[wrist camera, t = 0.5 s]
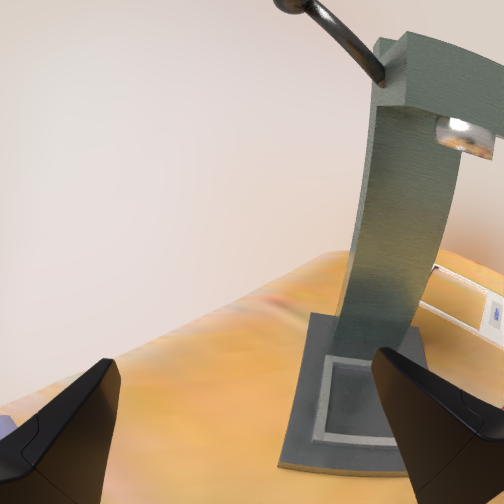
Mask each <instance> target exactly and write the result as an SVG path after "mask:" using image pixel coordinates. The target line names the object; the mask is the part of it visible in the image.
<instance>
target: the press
mask: <svg viewBox="0 0 504 504" xmlns="http://www.w3.org/2000/svg"><path fill="white" fill-rule="evenodd" d="M273 2H274V4H275V5H276V7H277V8H278V9H280V10H281V11H283V12H285V13H288V14H301V13H304V12H305V13H307V14H308V15H309V16H310V17H311V18H312V19H313V20H314V21H316V22H317V23H318V24H319V25H320V26H321V27H322V28H323V29H324V30H325V31H326V32H327V33H329V34H330V35H331V36H332V37H333V38H334V39H335V40H336V41H337V42H338V43H339V44H340V45H341V46H342V47H343V48H344V49H345V50H346V51H347V52H348V53H349V55H350V56H351V57H352V58H353V59H354V60H355V61H356V62H357V63H358V64H359V65H360V66H361V68H362V69H364V70H365V72H366V73H367V74H368V75H369V76H370V78H371V79H372V92H371V107H370V119H369V129H368V139H367V148H366V157H365V164H364V172H363V179H362V186H361V193H360V199H359V205H358V211H357V217H356V223H355V228H354V234H353V239H352V244H351V249H350V253H349V258H348V263H347V268H346V272H345V277H344V281H343V285H342V289H341V294H340V298H339V302H338V306H337V310H336V314H335V316H331V315H325V314H318V313H312V312H311V314H310V319H309V325H308V331H307V336H306V342H305V347H304V352H303V357H302V363H301V368H300V372H299V377H298V382H297V387H296V391H295V396H294V401H293V405H292V409H291V414H290V418H289V422H288V426H287V430H286V434H285V438H284V442H283V446H282V450H281V454H280V458H279V462H278V465H277V467H281V468H286V469H292V470H299V471H306V472H313V473H322V474H332V475H344V476H362V477H405V476H408V473H407V470H406V467H405V465H404V462H403V459H402V457H401V454H400V451H399V449H398V446H397V443H396V441H395V438H394V436H393V433H392V431H391V428H390V425H389V423H388V420H387V418H386V415H385V413H384V411H383V408H382V405H381V402H380V399H379V396H378V392H377V389H376V385H375V382H374V378H373V375H372V372H371V363H372V361H373V358H374V355H375V352H376V350H377V348H380V347H390V348H391V349H393V350H395V351H396V352H398V353H400V354H402V355H403V356H405V357H407V358H408V359H410V360H412V361H414V362H415V363H417V364H419V365H420V366H422V367H424V368H425V369H427V364H426V359H425V354H424V349H423V345H422V340H421V336H420V332H419V328H418V327H413V326H410V323H411V321H412V319H413V316H414V314H415V312H416V309H417V307H418V305H419V302H420V300H421V297H422V295H423V292H424V289H425V287H426V284H427V282H428V279H429V276H430V273H431V270H432V268H433V265H434V262H435V259H436V256H437V253H438V250H439V246H440V243H441V240H442V237H443V233H444V229H445V225H446V222H447V218H448V215H449V211H450V207H451V203H452V199H453V195H454V190H455V185H456V180H457V176H458V170H459V165H460V159H461V153H462V151H463V152H466V153H470V154H473V155H475V156H478V157H482V158H485V159H488V160H492V157H493V151H494V144H495V137H499V138H502V139H504V66H503V65H501V64H498V63H496V62H494V61H492V60H490V59H488V58H485V57H483V56H481V55H478V54H476V53H474V52H471V51H468V50H466V49H463V48H461V47H458V46H455V45H452V44H449V43H447V42H444V41H440V40H437V39H434V38H430V37H427V36H424V35H420V34H416V33H413V32H409V31H407V32H406V33H405V34H404V35H403V36H402V37H401V38H400V39H399V40H398V41H396V40H391V39H386V38H382V37H379V39H378V40H377V42H376V43H375V45H374V47H373V53H372V52H371V51H370V50H369V49H368V48H367V47H366V46H365V45H364V43H363V42H362V41H360V39H359V38H358V37H357V36H356V35H355V34H354V33H353V32H352V31H351V30H350V29H349V28H348V27H347V26H346V25H345V24H343V23H342V22H341V21H340V20H339V19H338V18H337V17H336V16H335V15H334V14H333V13H331V12H330V11H329V10H328V9H327V8H326V7H325V6H324V5H322V4H321V3H320V2H319V1H318V0H273ZM427 370H428V369H427Z"/></svg>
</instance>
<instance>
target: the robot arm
mask: <svg viewBox="0 0 504 504" xmlns="http://www.w3.org/2000/svg"><path fill="white" fill-rule="evenodd" d="M371 372H372V375H373V378H374V382H375V385H376V389H377V392H378V396H379V399H380V402H381V405H382V408H383V411H384V413H385V415H386V418H387V420H388V423H389V425H390V428H391V431H392V433H393V436H394V438H395V441H396V443H397V446H398V449H399V451H400V454H401V457H402V459H403V462H404V465H405V467H406V470H407V473H408V476H409V479H410V481H411V484H412V487H413V490H414V493H415V497H416V499H417V502H418V504H504V410H502V409H500V408H497V407H495V406H493V405H491V404H488V403H486V402H484V401H482V400H480V399H478V398H476V397H474V396H472V395H471V394H469V393H467V392H465V391H463V390H462V389H459V388H458V387H456V386H455V385H453V384H451V383H450V382H448V381H446V380H444V379H443V378H441V377H439V376H437V375H436V374H434V373H432V372H431V371H429V370H427V369H425V368H424V367H422V366H420V365H419V364H417V363H415V362H414V361H412V360H410V359H408V358H407V357H405V356H403V355H402V354H400V353H398V352H396V351H395V350H393V349H391V348H390V347H380V348H377V350H376V352H375V355H374V358H373V361H372V363H371ZM120 385H121V377H120V373H119V371H118V368H117V365H116V362H115V361H114V360H113V359H108V358H103V359H101V360H100V361H99V362H98V363H96V364H95V365H94V366H92V367H91V368H90V369H89V370H88V371H86V372H85V373H84V374H83V375H82V376H80V377H79V378H78V379H77V380H75V381H74V382H73V383H72V384H71V385H69V386H68V387H67V388H66V389H65V390H63V391H62V392H61V393H60V394H59V395H57V396H56V397H55V398H54V399H53V400H51V401H50V402H49V403H48V404H47V405H45V406H44V407H43V408H42V409H41V410H39V411H38V414H37V413H36V414H35V415H33V416H32V417H31V418H30V419H29V420H27V421H26V422H25V423H24V424H22V425H21V426H20V427H18V428H17V429H15V430H14V431H13V432H11V433H10V434H8V435H7V436H5V437H4V438H2V439H1V440H0V504H100V501H101V494H102V488H103V482H104V476H105V471H106V465H107V460H108V455H109V450H110V445H111V441H112V436H113V432H114V427H115V423H116V417H117V409H118V400H119V393H120Z"/></svg>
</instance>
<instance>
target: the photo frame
mask: <svg viewBox="0 0 504 504" xmlns="http://www.w3.org/2000/svg"><path fill="white" fill-rule="evenodd" d="M434 266H435V267H437V268H439V269H438V270H440V271H442V272H444V273H447V274H449V275H451V276H453V277H455V278H457V279H459V280H461V281H463V282H465V283H467V284H469V285H471V286H473V287H475V288H477V289H479V290H481V291H483V292H485V293H487V296H486V301H485V306H484V311H483V315H482V319H481V324H480V328H479V331H478V330H476V329H475V328H473V327H471V326H469V325H467V324H465V323H463V322H461V321H459V320H458V319H456V318H454V317H452V316H450V315H448V314H446V313H444V312H442V311H440V310H438V309H436V308H434V307H432V306H430V305H428V304H427V303H425V302H423V301H421V300H420V302H419V306H421V307H423V308H425V309H427V310H429V311H431V312H432V313H434V314H436V315H438V316H440V317H442V318H444V319H446V320H448V321H450V322H452V323H454V324H456V325H457V326H459V327H461V328H463V329H465V330H467V331H469V332H471V333H473V334H474V335H476V336H478V337H480V338H482V339H484V340H486V341H487V342H489V343H491V344H493V345H495V346H497V347H499V348H500V349H502V350H504V297H502V296H500V295H498V294H496V293H494V292H492V291H490V290H488V289H486V288H484V287H482V286H480V285H478V284H476V283H474V282H472V281H470V280H468V279H466V278H464V277H462V276H460V275H458V274H456V273H454V272H452V271H450V270H448V269H445V268H443V267H441V266H439V265H437V264H435V263H434V265H433V268H434ZM433 268H432V269H433ZM431 271H432V270H431Z"/></svg>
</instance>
